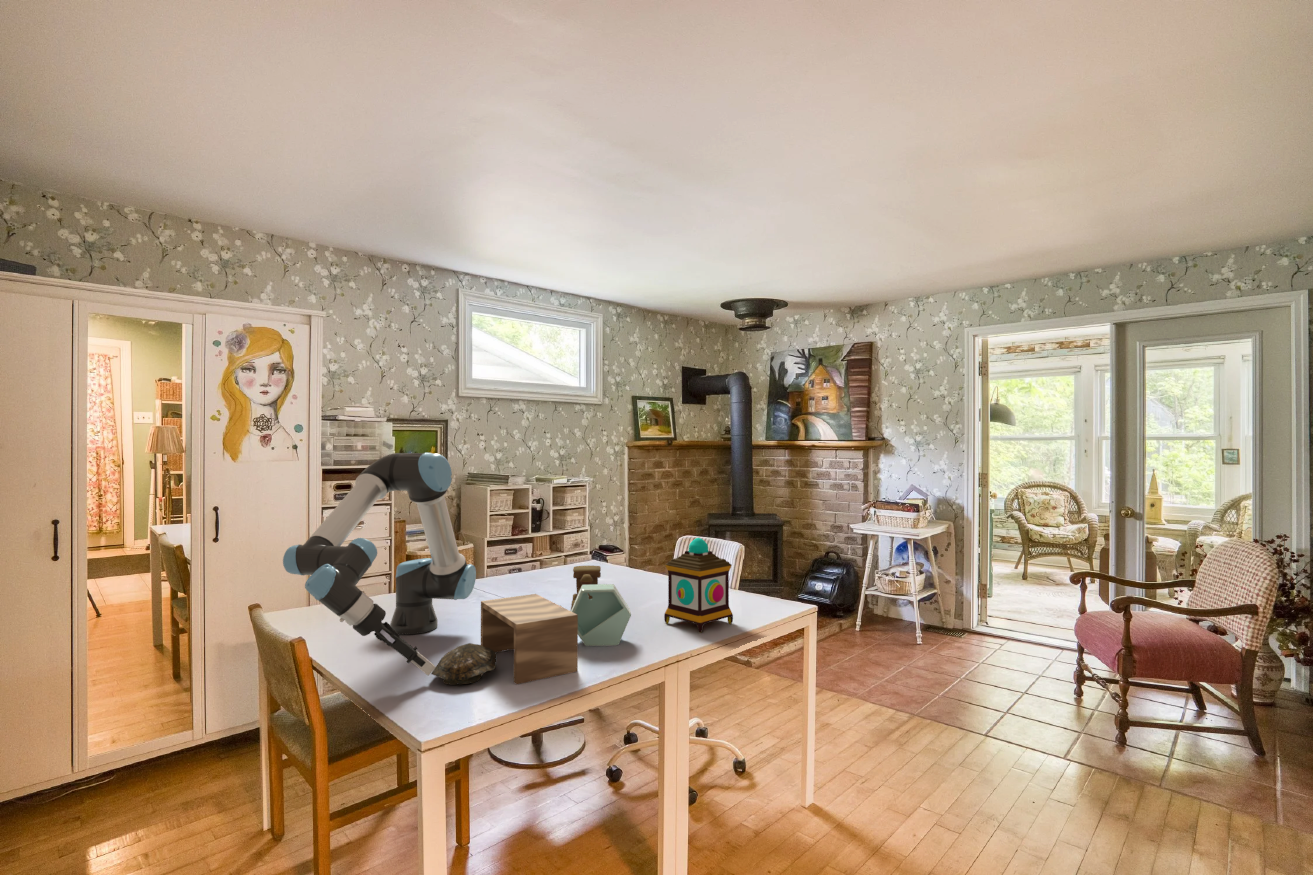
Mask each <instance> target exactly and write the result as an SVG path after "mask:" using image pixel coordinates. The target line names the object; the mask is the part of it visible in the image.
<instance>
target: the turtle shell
mask: <svg viewBox="0 0 1313 875" xmlns="http://www.w3.org/2000/svg"><path fill="white" fill-rule="evenodd" d="M496 666H497V652H496V653H495V652H494V651H493V650H492V649H490V648H487V647H484V646H482V645H481V644H477V643H471V642H469V643H465V644H461V645H458V646H456V647H454V648H453V649H452V650H450V651H448V652H446V653H445V654H444V655H443V656H442V657H441V659H440V660H439V661H438V663H437V664H436V665H435V667H436V668H435V669H434V670H433V671H432V672H431V675H433V676H435V677H438V678H441V679H443V681H442V682H443V684H445V685H464V684H465V685H466V684H471V683H472V684H473V683H476V682H478V681H480V680H481V679H482V676H483V675H484V673H486V672H490V671H494V670H495V668H496Z"/></svg>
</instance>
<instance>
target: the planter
mask: <svg viewBox="0 0 1313 875" xmlns="http://www.w3.org/2000/svg"><path fill="white" fill-rule="evenodd" d="M587 593H589V595H590V596H592V597H593V598H592V599H589V596H588V594H587ZM570 611H571V612H573V613H575V614H577V615H578V637H579V639H580V640H581V641H582V643H583V645H584V646H585V647H607V646H608V647H609V646H611V647H612V646H618V645H619V644H620V643H621V640H622V637H623V636H624V632H625V631H626V628H627V626H628V624H629V621H630V619H631V617H632V613H631V608H630V607H629V605H628V604H627V602H626V600H625V599H624V597H623V596H622V594H621V593H620V591H619V590H618V588H617V587H616V586H615V584H614V583H613V584H611V583H609V584H607V583H606V584H605V583H603V584H599V583H598V584H596V585H582V586H581V589H580V591H579V593H578V596H577V598H576V600H575V603H574V605H573V607H572V610H571V609H570Z"/></svg>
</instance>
